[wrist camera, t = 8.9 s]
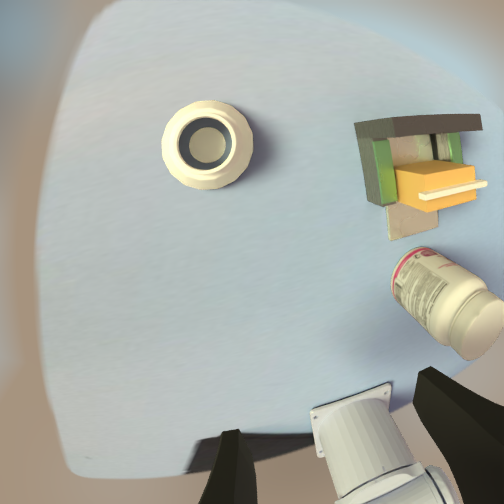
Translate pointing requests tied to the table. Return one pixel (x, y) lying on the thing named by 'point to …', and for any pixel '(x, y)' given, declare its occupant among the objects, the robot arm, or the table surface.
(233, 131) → the white jar
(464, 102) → the table surface
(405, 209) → the grey drawer frame
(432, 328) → the pill bottle
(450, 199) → the orange block with lip
